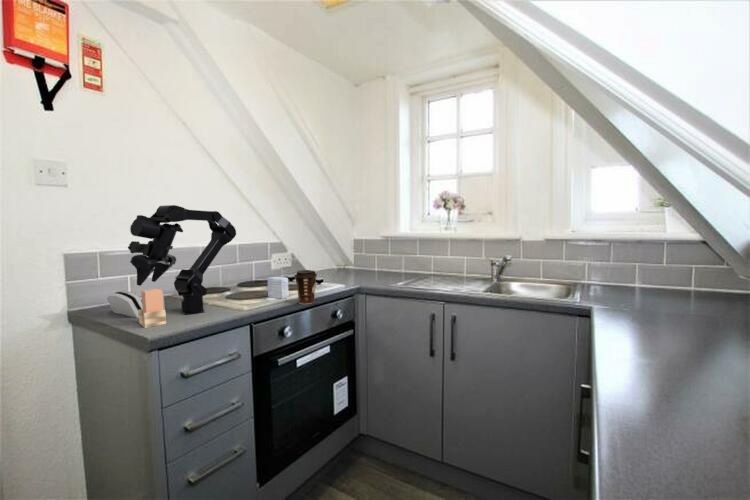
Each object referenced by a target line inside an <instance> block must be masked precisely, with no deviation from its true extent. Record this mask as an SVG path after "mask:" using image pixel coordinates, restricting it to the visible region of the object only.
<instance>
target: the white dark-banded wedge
mask: <svg viewBox="0 0 750 500" xmlns="http://www.w3.org/2000/svg"><path fill="white" fill-rule="evenodd" d="M106 299H107V301H108V303H109V306H110V308H111V310H112V312H113V314H118V315H123V316H128V317H132V318H138V319H139V317H138V310H141V309H143V306H142V299H140V297H139V296H138V295H137V294H135V293H133V292H131V291H128V290H118V291H116V292H113V293H111V294H110V295H108V296H107V298H106Z"/></svg>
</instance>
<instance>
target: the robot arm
mask: <svg viewBox="0 0 750 500" xmlns="http://www.w3.org/2000/svg"><path fill="white" fill-rule="evenodd" d="M184 221H204V222H207V223H208V226H209V227H208V228H209V229H210V230H211V234H210V235H211V237H210V241H209V242H208V244H207V245H206V247H204V249H203V251H202V252H201V253H200V255H199V256H198V257H197V259H196V260H195V262H193V264H192V265H191V267H190V268H189V269H181V270H180V271H179V273H178V274H177V276H175V277H174V279H175V280H174V283H173V285H174V289H175V290H176V292H177V294H178V296H179V297H182V299H181V300H180V305H181V312H182V313H183V314H184V315H192V314H193V315H194V314H198V313H200V314H201V313H205V310H204V301H203V300H204V299H203V297H204V296H206V295H207V290H208V289H207V288H206V287H205V286H204V285H203V282H204V281H203V280H204V273H205V272H206V271H207V269H208V268H209V267H210V265H211V264H212V262H213V261H214V259H215V258H216V257H217V255H218V254H219V252H220V251H221V250H222V248H223V247H225V245H227V244H229V243H231V242H232V241H233V239H234V238H235V237H236V236H237V230H236V227H235V226H234V225H233V224H232V223H231V222H230V221H229V220H228V219H227V218H225V217H224V216H222V214H221V213H220V211H217V210H213V211H212V210H211V211H210V210H197V209H187V208H185V207H184V206H180V205H176V204H173V205H172V204H171V205H160V206H158V208H157V209H156V211H155V212H154V213H153V214H152V215H151V216H150V217H148V216H145V215H142V214H140V215H137V216H136V218H135V219H134V220H133V221H132V224H130V228H129V231H130V234H131V235H132V236H133V237H139V238H144V239H150V240H149V241H148V242H147V243H140V241H135V240H134V241H131V242H130V243H129V244H128V247H127V248H128V250H129V251H130V254H136V255H133V256H132V257H130V258H131V259H130V261H129V262H130V264H132V266H134V268H135V269H136V285H137V286H139V287H141V286H142V285H143V283H145V281H146V280H147V279H148V278H149V277H150V275H152V277H151V281H152V282H153V283H155V282H157V280H159V279H160V278H161V277H162V276H163V275H164V274H165V273H166V272H168V270H169V269H171V268H172V267H173V265H175V264H176V263H177V258H176V256H175V255H172V254H170V253H169V252H170V250H173V247H174V246H173V245H172V244H173V241H174V240H175V238H176V234H177V232H178V233H183V232H184V230H183V228H182V226H181V224H179V223H178V222H184ZM172 223H173V224H172Z"/></svg>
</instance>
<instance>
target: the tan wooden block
mask: <svg viewBox="0 0 750 500" xmlns="http://www.w3.org/2000/svg"><path fill="white" fill-rule="evenodd" d="M166 311H167V310H166V309H165V310H160V311H154V312H148V313H143V309H141V310H138V317H139V318H138V324H140V325H141V326H142V327H143V328H144V329H145V328H146V329H147V328H151V327H156V326H157V327H158V326H161V325H165V324H166V325H167V313H166ZM143 315H144V321H143Z"/></svg>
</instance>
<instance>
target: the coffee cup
mask: <svg viewBox="0 0 750 500" xmlns="http://www.w3.org/2000/svg"><path fill="white" fill-rule="evenodd" d="M317 276H318V275H317V273H316V271H315V270H311V269H305V270H304V269H303V270H298V271H296V274H295V275H294V278H295V282H296V287H297V288H296V290H297V298H298V304H299V305H311V304H314V303H315V295H316V289H317V288H316V286H317V285H316V284H317V281H316V278H317Z"/></svg>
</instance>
